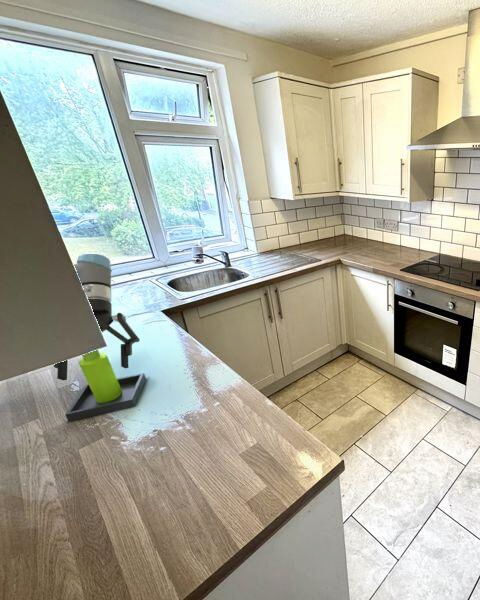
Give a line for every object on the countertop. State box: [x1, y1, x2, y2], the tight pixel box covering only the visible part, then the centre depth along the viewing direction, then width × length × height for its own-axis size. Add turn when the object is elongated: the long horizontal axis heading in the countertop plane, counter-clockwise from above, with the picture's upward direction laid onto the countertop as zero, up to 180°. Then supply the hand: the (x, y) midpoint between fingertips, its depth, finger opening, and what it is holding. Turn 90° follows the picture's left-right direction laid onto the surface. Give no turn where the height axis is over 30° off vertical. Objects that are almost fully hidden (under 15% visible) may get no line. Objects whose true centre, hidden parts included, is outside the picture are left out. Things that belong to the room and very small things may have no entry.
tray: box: [64, 372, 147, 422], centre depth 95 cm, size 15×14×2 cm
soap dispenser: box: [78, 349, 122, 403], centre depth 92 cm, size 6×7×20 cm
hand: (94, 373), depth 90 cm, fingers open, 13 cm apart
